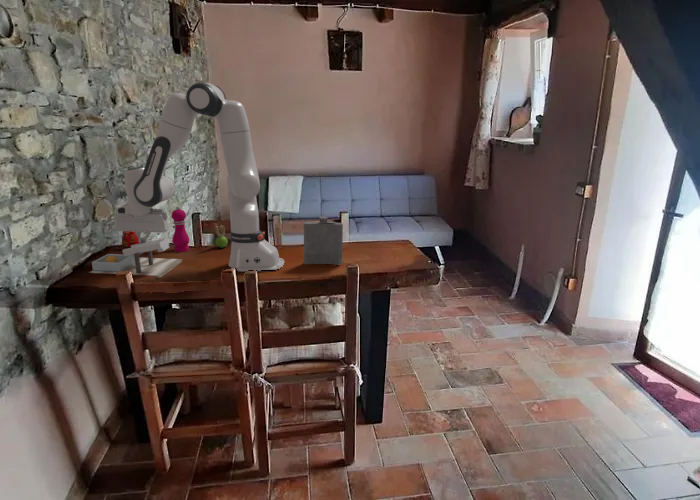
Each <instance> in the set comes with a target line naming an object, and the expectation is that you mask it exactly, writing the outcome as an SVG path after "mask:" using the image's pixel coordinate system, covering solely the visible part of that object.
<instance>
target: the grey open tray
mask: <svg viewBox="0 0 700 500" xmlns="http://www.w3.org/2000/svg"><path fill="white" fill-rule="evenodd" d="M109 256H115V257H116V258H117V263H114V262H106V258H107V257H109ZM133 264H135V259H134V254H133V255H128V256H124V254H117V253H107V254H105V255H103V256H101V257H100V258H97V259H95V260H93V261H91V266H92V270H93V271H102V272H119V271H123V270H125V269H127V268H128V267H130V266H132V265H133Z"/></svg>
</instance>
